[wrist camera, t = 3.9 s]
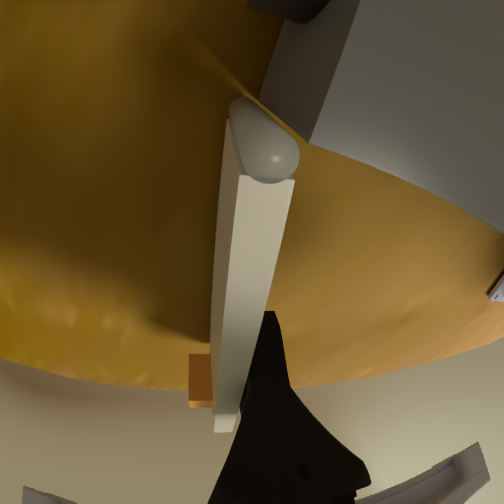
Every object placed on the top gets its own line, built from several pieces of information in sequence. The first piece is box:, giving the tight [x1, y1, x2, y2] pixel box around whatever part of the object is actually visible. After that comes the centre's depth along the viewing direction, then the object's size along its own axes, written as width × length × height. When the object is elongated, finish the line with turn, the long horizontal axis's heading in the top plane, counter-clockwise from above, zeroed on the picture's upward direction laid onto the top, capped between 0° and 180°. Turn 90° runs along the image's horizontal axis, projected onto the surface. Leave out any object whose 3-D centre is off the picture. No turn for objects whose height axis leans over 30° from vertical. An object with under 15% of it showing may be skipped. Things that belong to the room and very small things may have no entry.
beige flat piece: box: [189, 97, 300, 432], centre depth 9 cm, size 12×2×4 cm, turn 172°
